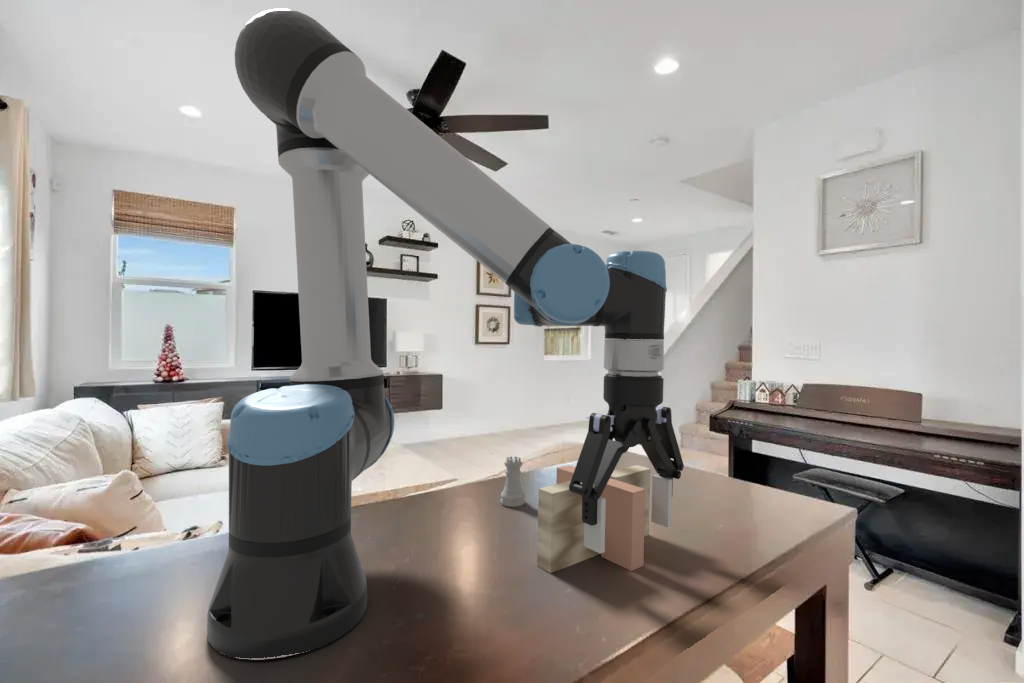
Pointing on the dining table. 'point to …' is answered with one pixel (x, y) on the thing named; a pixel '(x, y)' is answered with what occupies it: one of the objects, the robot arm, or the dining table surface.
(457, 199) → the robot arm
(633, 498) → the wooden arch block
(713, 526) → the dining table surface
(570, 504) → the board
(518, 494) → the rook chess piece
